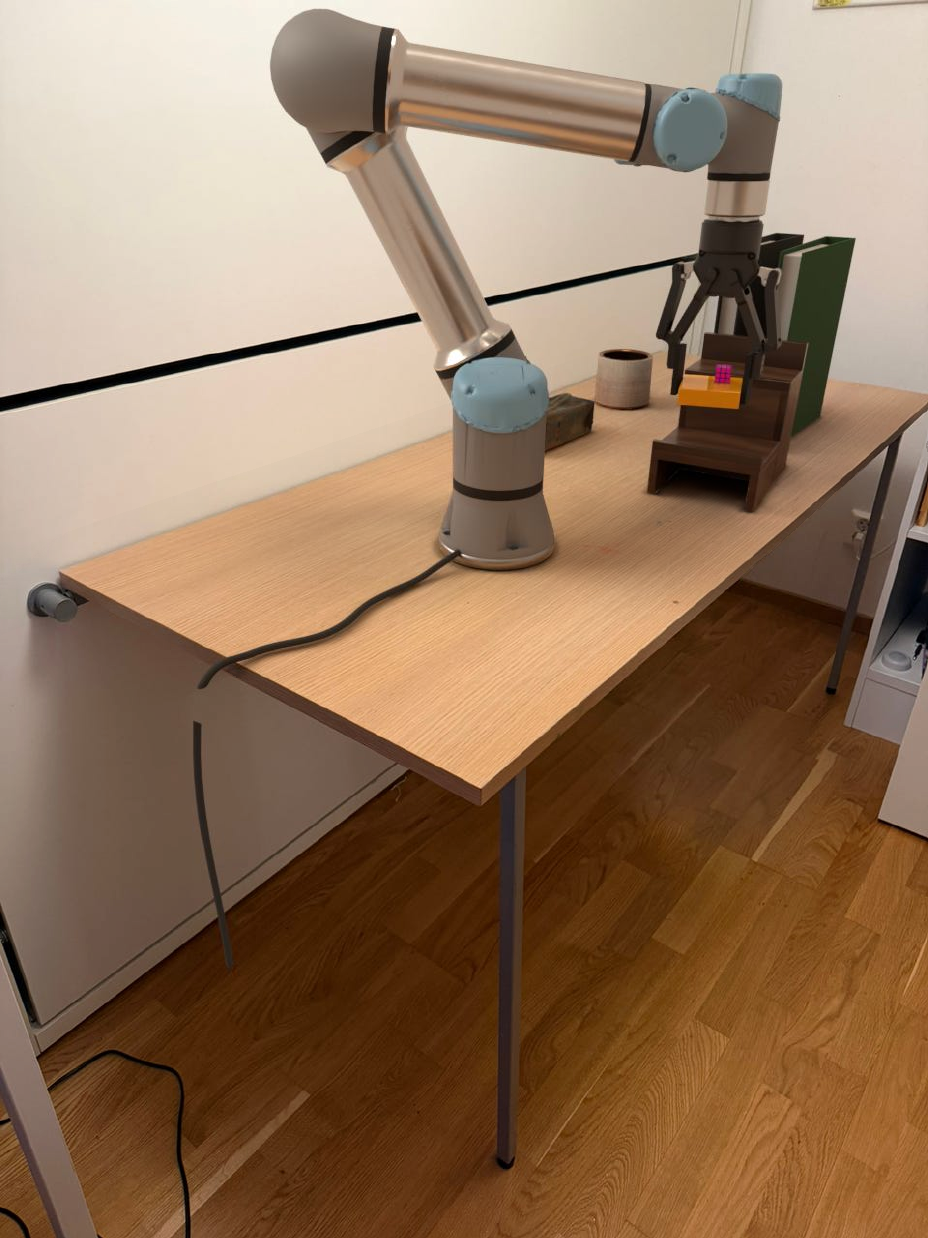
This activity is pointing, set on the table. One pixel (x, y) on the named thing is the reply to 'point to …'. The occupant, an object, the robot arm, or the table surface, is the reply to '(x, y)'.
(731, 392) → the orange slab
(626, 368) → the planter
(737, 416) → the step shelf
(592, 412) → the beverage carton
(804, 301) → the books
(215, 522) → the table surface
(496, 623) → the table surface
